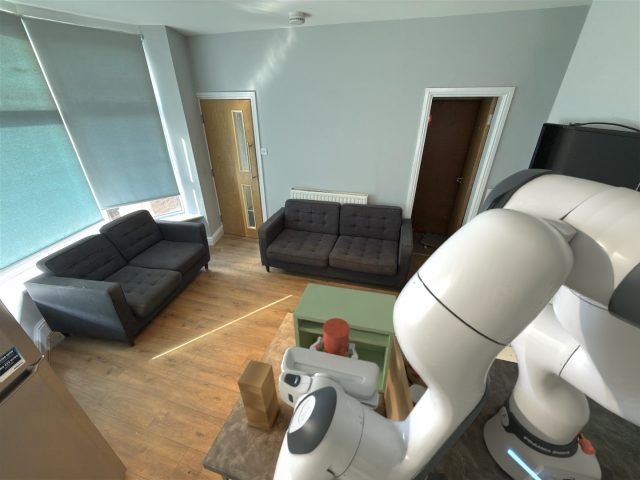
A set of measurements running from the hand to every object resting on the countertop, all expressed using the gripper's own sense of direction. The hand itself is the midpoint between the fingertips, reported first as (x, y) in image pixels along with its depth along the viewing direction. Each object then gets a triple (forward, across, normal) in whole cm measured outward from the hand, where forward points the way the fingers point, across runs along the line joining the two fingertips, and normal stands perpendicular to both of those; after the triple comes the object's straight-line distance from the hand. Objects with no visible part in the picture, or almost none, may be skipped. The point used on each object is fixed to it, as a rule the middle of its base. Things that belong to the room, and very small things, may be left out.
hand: (336, 341), depth 61 cm
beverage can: (0, -20, +25) cm, 32 cm away
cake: (+15, -24, +24) cm, 38 cm away
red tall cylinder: (-1, 0, +6) cm, 7 cm away
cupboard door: (-7, -18, +24) cm, 31 cm away
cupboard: (+13, 0, +24) cm, 28 cm away
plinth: (-8, +18, +25) cm, 31 cm away
